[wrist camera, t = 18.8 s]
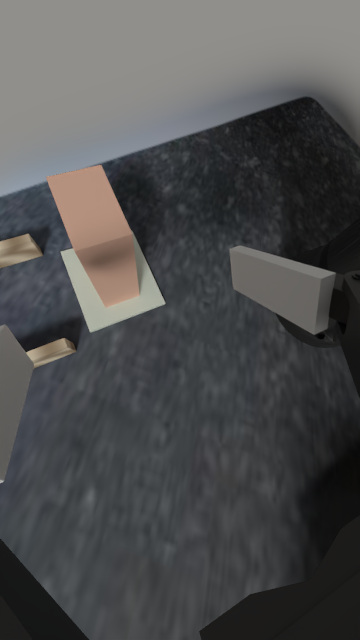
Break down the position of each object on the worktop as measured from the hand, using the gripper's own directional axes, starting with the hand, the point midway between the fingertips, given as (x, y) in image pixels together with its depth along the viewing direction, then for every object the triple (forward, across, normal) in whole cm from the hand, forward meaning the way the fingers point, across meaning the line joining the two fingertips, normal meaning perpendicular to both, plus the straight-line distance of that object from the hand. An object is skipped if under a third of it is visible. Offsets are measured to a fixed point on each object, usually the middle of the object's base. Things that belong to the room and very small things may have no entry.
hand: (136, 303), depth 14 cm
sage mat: (+22, 0, -5) cm, 22 cm away
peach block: (+21, 0, -5) cm, 22 cm away
